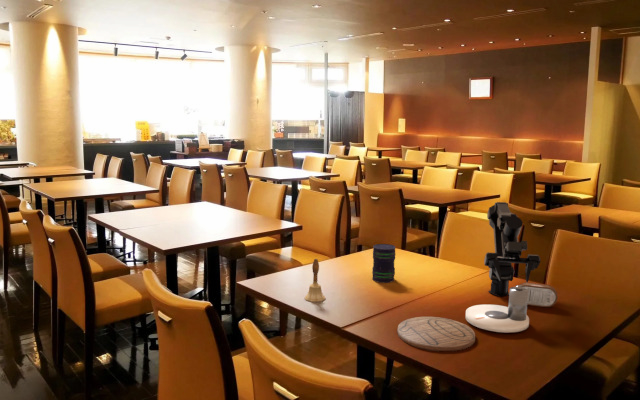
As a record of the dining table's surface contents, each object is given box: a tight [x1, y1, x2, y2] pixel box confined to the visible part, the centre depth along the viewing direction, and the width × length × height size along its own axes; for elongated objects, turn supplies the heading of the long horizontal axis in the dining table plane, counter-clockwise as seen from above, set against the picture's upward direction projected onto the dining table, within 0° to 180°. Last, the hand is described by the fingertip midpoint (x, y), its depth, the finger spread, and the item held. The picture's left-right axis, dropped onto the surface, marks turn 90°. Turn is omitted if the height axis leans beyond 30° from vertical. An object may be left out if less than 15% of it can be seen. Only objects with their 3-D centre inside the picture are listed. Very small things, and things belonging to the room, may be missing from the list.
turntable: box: [465, 304, 530, 333], centre depth 185 cm, size 21×21×2 cm
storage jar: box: [371, 243, 396, 284], centre depth 233 cm, size 10×10×15 cm
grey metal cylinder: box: [507, 284, 528, 321], centre depth 182 cm, size 6×6×11 cm
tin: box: [519, 282, 558, 308], centre depth 203 cm, size 15×3×8 cm, turn 71°
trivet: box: [396, 316, 476, 352], centre depth 174 cm, size 25×25×2 cm
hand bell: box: [304, 258, 326, 303], centre depth 207 cm, size 8×8×16 cm
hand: (513, 281), depth 189 cm, fingers open, 9 cm apart
